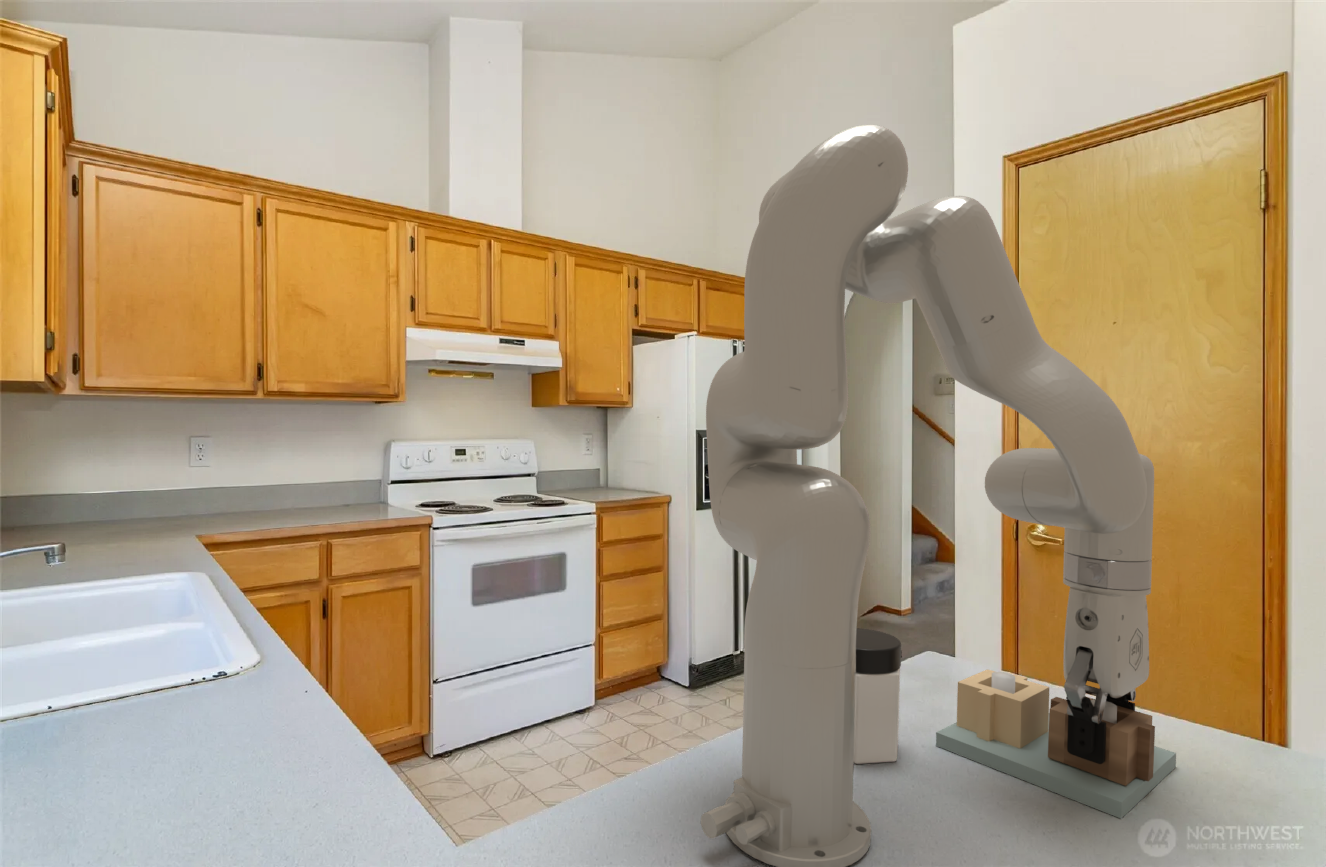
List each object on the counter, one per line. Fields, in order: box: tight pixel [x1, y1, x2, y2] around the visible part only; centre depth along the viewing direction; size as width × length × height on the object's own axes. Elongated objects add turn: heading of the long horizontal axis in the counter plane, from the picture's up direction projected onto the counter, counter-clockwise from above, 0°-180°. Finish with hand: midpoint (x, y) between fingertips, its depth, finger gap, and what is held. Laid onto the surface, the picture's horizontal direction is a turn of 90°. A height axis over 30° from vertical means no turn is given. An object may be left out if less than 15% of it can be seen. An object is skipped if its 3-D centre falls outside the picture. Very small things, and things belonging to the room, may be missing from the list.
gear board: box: [935, 669, 1177, 820], centre depth 75 cm, size 16×18×8 cm
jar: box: [854, 627, 903, 765], centre depth 77 cm, size 9×8×12 cm
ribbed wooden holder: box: [1048, 695, 1156, 786], centre depth 71 cm, size 7×9×5 cm
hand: (1101, 745), depth 71 cm, fingers open, 7 cm apart
